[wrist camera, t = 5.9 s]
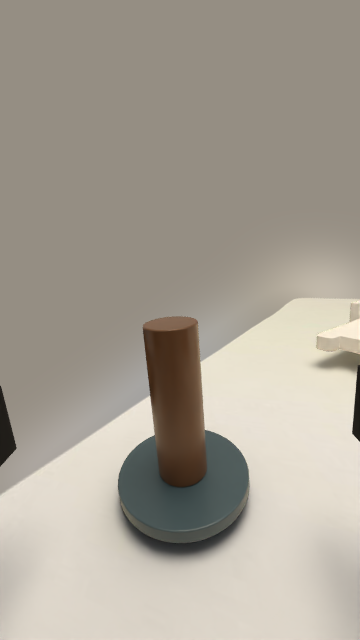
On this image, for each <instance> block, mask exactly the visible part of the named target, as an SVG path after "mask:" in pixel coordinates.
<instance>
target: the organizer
mask: <svg viewBox="0 0 360 640" xmlns="http://www.w3.org/2000/svg"><path fill="white" fill-rule="evenodd" d="M316 348H317V349H319V350H323V351H328V352H333V351H336V350H339V349H341V350H345V351H349V352H353V353H357V354H360V300H359V301H355V302H352V303H351V308H350V322H349V323H346V324H343V325H341V326H338V327H335V328H332V329H330V330H327V331H324V332H321V333H319V334H317V342H316Z"/></svg>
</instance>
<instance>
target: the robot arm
mask: <svg viewBox="0 0 360 640" xmlns="http://www.w3.org/2000/svg"><path fill="white" fill-rule="evenodd" d="M352 434H353V435H354V436H355V437H356V438H357V439H358V440H359V441H360V365H358V370H357V382H356V394H355V406H354V418H353V430H352ZM15 450H16V444H15V440H14V436H13V432H12V428H11V425H10V420H9V417H8V412H7V408H6V404H5V401H4V397H3V393H2V389H1V386H0V466H1V465H2V464H3V463H4V462H5V461H6V459H7V458H8V457H9V456H10V455H11V454H12V453H13V452H14V451H15Z"/></svg>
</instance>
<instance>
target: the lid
mask: <svg viewBox="0 0 360 640" xmlns="http://www.w3.org/2000/svg"><path fill="white" fill-rule="evenodd" d="M143 334H144V342H145V352H146V361H147V370H148V379H149V387H150V396H151V405H152V414H153V423H154V432H155V435H154V436H152V437H150V438H148V439H146V440H145V441H143V442H142V443H141V444H139V445H138V446H137V447H136V448H135V449H134V450H133V451H132V452H131V453H130V454H129V455H128V457H127V458H126V460H125V461H124V463H123V465H122V467H121V470H120V473H119V479H118V490H119V496H120V503H121V506H122V509H123V511H124V513H125V515H126V517H127V518H128V519H129V521H130V522H131V523H132V524H133V525H134V526H135V527H136V528H137V529H138V530H140V531H141V532H143V533H144V534H146V535H148V536H150V537H152V538H154V539H157V540H161V541H165V542H171V543H190V542H196V541H200V540H204V539H207V538H209V537H212V536H214V535H216V534H218V533H219V532H221V531H223V530H224V529H226V528H227V527H228V526H229V525H230V524H232V523H233V522H234V521H235V519H236V518H237V517H238V516H239V514H240V513H241V511H242V510H243V508H244V506H245V504H246V501H247V498H248V494H249V470H248V466H247V463H246V461H245V458H244V456H243V455H242V453H241V452H240V450H239V449H238V448H237V447H236V446H235V445H234V444H233V443H232V442H230V441H229V440H228V439H226V438H224V437H223V436H221V435H219V434H216V433H214V432H211V431H207V430H205V427H204V412H203V396H202V380H201V364H200V349H199V333H198V322H197V320H196V319H194V318H190V317H165V318H159V319H155V320H151V321H149V322H146V323H145V324H144V325H143Z"/></svg>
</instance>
